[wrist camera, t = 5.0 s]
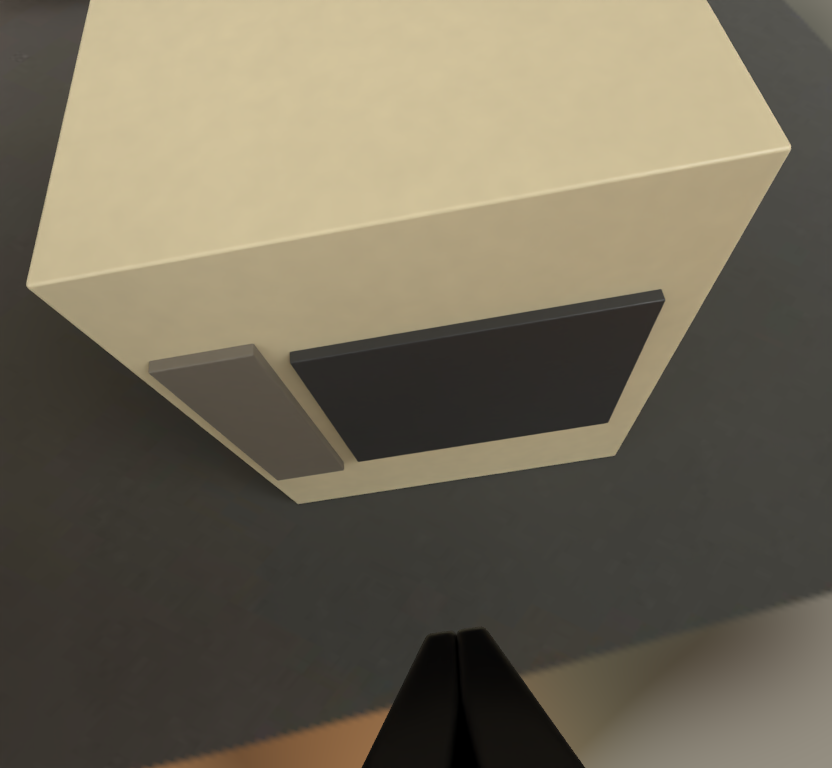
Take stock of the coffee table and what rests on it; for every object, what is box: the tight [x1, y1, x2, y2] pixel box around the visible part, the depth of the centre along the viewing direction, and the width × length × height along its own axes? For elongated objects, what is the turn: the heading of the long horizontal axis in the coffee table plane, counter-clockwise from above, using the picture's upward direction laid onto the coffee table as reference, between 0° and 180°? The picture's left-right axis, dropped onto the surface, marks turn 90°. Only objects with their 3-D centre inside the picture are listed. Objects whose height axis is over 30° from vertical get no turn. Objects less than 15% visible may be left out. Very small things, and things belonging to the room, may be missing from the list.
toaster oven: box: [26, 0, 791, 504], centre depth 16 cm, size 12×11×13 cm
